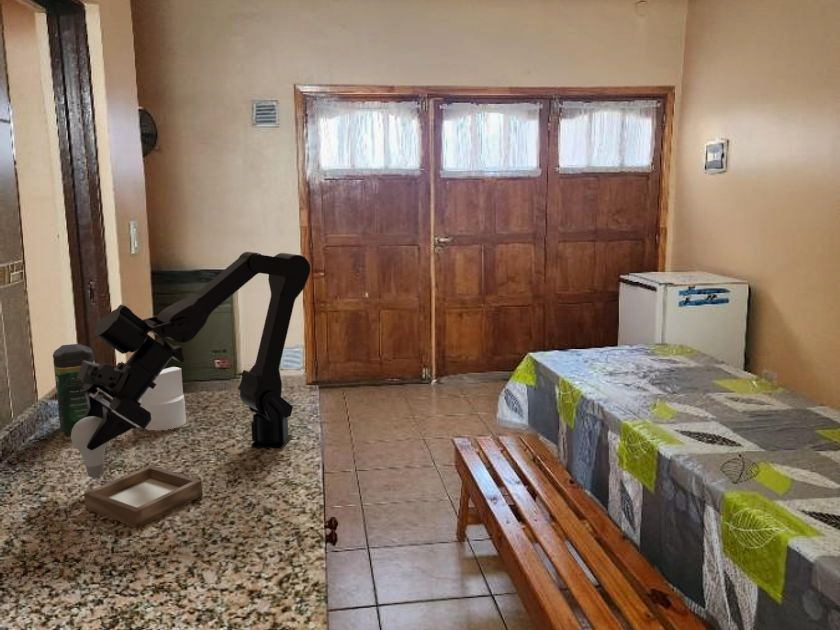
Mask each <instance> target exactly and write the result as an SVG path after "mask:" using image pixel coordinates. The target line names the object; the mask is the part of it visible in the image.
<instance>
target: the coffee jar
mask: <svg viewBox="0 0 840 630" xmlns="http://www.w3.org/2000/svg"><path fill="white" fill-rule="evenodd" d="M93 351H94V350H92V348H91V347H89V346H86V345H83V343H75V344H74V343H72V344H63V345H61V346H60V347H58V348H57V349H56V350H55V351H53V354H52V358H53V359H52V360H53V362H52V363H53V371H54V379H55V380H54V381H55V388H56V390H55V391H56V398H57V406H58V407H57V408H58V420H59V427H60V431H61V432H62V433H63V434H66V435H68V434H69V435H71V432H72V429H73V427H74V425H75V424H76V423H77V422H78V421H79V420H81V419H83V417H84V415H85V412H86V410H87V407H88V404H87V400H86V396H85V393H87V394H88V395H90V392H88V391H86V390H85V389H84V388H82V387H83V385H84V384H85V383H83V382H81V379H77V375H78V373H79V370H80V367H81V364H82V362H83V361H89V362H93V363H95V356H94V353H93Z"/></svg>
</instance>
